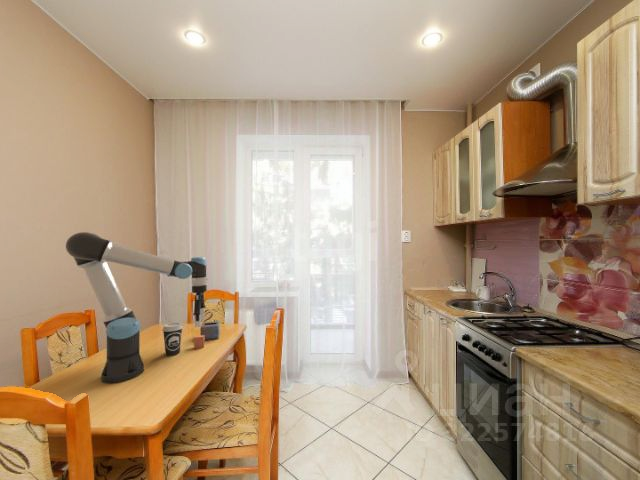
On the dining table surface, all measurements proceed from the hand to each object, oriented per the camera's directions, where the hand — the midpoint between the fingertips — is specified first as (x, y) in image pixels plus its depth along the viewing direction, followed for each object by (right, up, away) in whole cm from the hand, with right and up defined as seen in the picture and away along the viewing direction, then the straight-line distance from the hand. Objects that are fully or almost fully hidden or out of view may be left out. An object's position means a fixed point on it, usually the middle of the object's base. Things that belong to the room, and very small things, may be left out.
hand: (199, 323), depth 147 cm
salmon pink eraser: (0, -13, 0) cm, 13 cm away
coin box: (-1, -14, +16) cm, 21 cm away
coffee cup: (-10, -13, -9) cm, 19 cm away
